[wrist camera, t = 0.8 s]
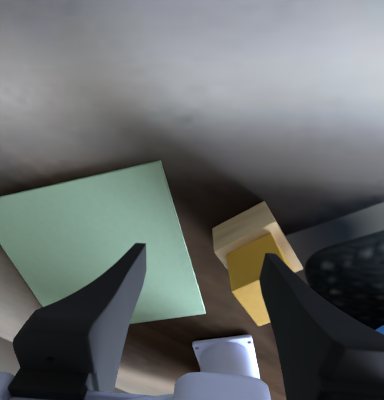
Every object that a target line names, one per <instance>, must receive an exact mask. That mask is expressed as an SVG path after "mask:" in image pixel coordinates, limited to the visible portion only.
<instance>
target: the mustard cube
mask: <svg viewBox="0 0 384 400" xmlns="http://www.w3.org/2000/svg"><path fill="white" fill-rule="evenodd" d="M265 253H275V254H277V255H278V256H279V257H280V258H281V259H282V260H283V262H284V263H285V264H286V265H287V266H288V267H289V268H290V269H291V270H292V271H293V272H294V270H293V268H292V266H291V265H290V263H289V261H288V260H287V258H286V256H285V255H284V253H283V251H282V250H281V248H280V247H279V245H278V243H277V242H276V240H275V238H274V237H273V235H272V233H269V234H267V235H265V236H263V237H261V238H259V239H257V240H255V241H253V242H250V243H248V244H246V245H244V246H242V247H240V248H238V249H236V250H234V251H232V252H230V253H228V254H226V257H227V264H228V271H229V278H230V285H231V292H232V293H233V294H234V295H235V297H236V298H237V299H238V301H239V302H240V303H241V305H242V306H243V307H244V308H245V310H246V311H247V312H248V314H249V315H250V316H251V317H252V319H253V320H254V321H255V323H256V324H257V325H258V326H261V325H264V324H266V323H269V322H270V319H269V316H268V313H267V310H266V306H265V303H264V300H263V297H262V293H261V287H260V281H259V277H260V273H261V269H262V265H263V261H264V257H265ZM294 273H295V272H294Z"/></svg>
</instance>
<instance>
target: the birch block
mask: <svg viewBox="0 0 384 400" xmlns="http://www.w3.org/2000/svg"><path fill="white" fill-rule="evenodd" d="M212 232H213V246H214V253H215V254H216V255H217V257H218V258H219V259H220V261H221V262H222V263H223V265H224V266H225V267H226V269H227V270H228V264H227V257H226V254H228V253H230V252H232V251H234V250H236V249H238V248H240V247H242V246H244V245H246V244H248V243H250V242H253V241H255V240H257V239H259V238H261V237H263V236H265V235H267V234H269V233H272V235H273V237H274V238H275V240H276V242H277V243H278V245H279V247H280V248H281V250H282V251H283V253H284V255H285V256H286V258H287V260H288V261H289V263H290V265H291V266H292V268H293V270H294V272H297V271H300V270H302V269H303V267H302V265H301V263H300V261H299V260H298V258H297V256H296V254H295V252H294V251H293V249H292V247H291V245H290V243H289V242H288V240H287V238H286V237H285V235H284V233H283V231H282V230H281V228H280V226H279V225H278V223H277V221H276V220H275V218H274V216H273V214H272V213H271V211H270V209H269V208H268V206H267V204H266V203H265V201H263V202H261V203H259V204H257V205H255V206H254V207H252V208H250V209H248V210H246V211H244V212H242V213H240V214H238V215H237V216H235V217H233V218H231V219H229V220H227V221H225V222H223V223H221V224H220V225H218V226H216V227H214V228H212Z"/></svg>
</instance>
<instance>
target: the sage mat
mask: <svg viewBox="0 0 384 400" xmlns="http://www.w3.org/2000/svg"><path fill="white" fill-rule="evenodd" d="M135 243H146V269H147V270H146V275H145V279H144V283H143V287H142V290H141V293H140V295H139V298H138V301H137V304H136V307H135V309H134V312H133V315H132V318H131V321H130V324H133V323H141V322H148V321H155V320H163V319H170V318H177V317H185V316H192V315H200V314H206V311H205V307H204V304H203V301H202V297H201V294H200V291H199V287H198V284H197V280H196V277H195V274H194V270H193V267H192V264H191V260H190V257H189V253H188V250H187V247H186V243H185V240H184V237H183V233H182V230H181V227H180V223H179V220H178V216H177V213H176V210H175V206H174V203H173V200H172V196H171V193H170V189H169V186H168V183H167V179H166V176H165V173H164V169H163V166H162V163H161V160H160V161H155V162H151V163H146V164H142V165H137V166H133V167H128V168H124V169H120V170H115V171H111V172H106V173H102V174H97V175H93V176H88V177H84V178H79V179H75V180H71V181H66V182H62V183H57V184H53V185H48V186H44V187H39V188H35V189H30V190H26V191H22V192H17V193H13V194H8V195H4V196H0V245H1V246H2V247H3V249H4V250H5V252H6V253H7V255H8V256H9V258H10V259H11V261H12V262H13V264H14V265H15V267H16V268H17V270H18V271H19V273H20V274H21V275H22V277H23V278H24V280H25V281H26V283H27V284H28V286H29V287H30V289H31V290H32V292H33V293H34V295H35V296H36V298H37V299H38V301H39V302H40V303H41V305H42V306H43V307H45V306H47V305H50V304H52V303H54V302H57V301H59V300H61V299H63V298H65V297H67V296H69V295H71V294H73V293H74V292H76V291H78V290H80V289H81V288H83V287H84V286H86V285H88V284H89V283H91V282H92V281H94V280H95V279H97V278H98V277H99V276H101V275H102V274H103V273H104V272H106V271H107V270H108V269H109V268H110V267H112V266H113V265H114V264H115V263H116V262H117V261H118V260H119V259H120V258H121V257H122V256H123V255H124V254H125V253H126V252H127V251H128V250H129V249H130V248H131V247H132V246H133V245H134V244H135Z"/></svg>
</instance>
